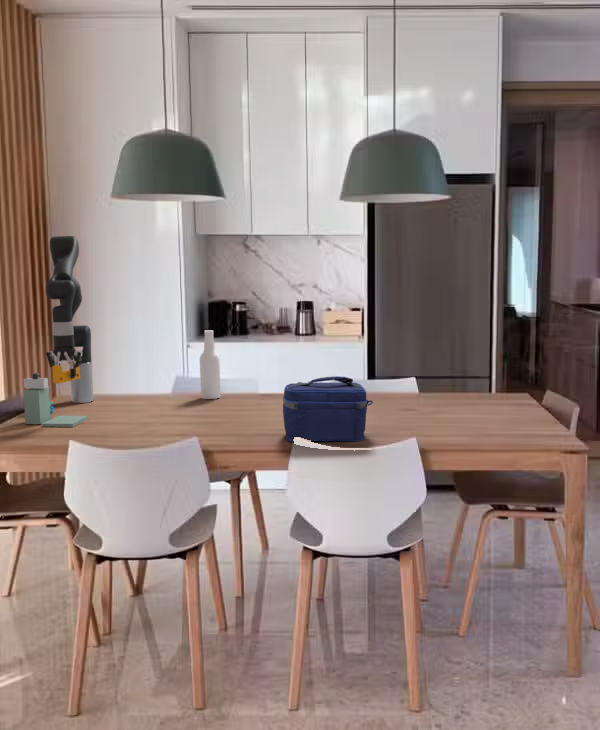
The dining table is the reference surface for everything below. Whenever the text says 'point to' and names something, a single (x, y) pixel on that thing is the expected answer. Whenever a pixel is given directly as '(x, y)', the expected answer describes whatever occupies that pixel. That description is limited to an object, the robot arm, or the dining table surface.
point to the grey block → (35, 382)
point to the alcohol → (210, 369)
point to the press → (45, 410)
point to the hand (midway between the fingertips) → (65, 378)
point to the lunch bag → (325, 410)
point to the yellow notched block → (63, 374)
